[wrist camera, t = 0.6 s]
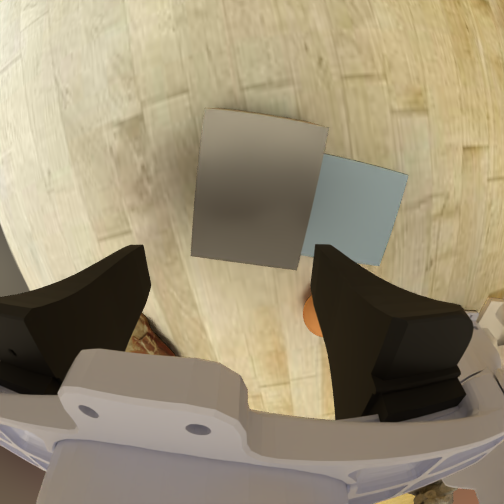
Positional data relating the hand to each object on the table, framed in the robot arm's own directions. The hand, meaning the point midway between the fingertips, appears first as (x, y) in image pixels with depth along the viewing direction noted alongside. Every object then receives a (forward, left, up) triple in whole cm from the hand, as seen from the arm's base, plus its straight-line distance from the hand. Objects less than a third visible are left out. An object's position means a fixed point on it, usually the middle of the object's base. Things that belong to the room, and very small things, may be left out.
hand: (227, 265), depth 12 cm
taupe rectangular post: (-1, -2, -10) cm, 10 cm away
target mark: (-8, 0, -10) cm, 13 cm away
